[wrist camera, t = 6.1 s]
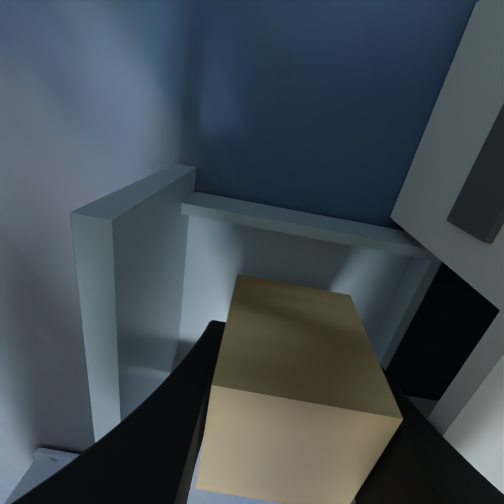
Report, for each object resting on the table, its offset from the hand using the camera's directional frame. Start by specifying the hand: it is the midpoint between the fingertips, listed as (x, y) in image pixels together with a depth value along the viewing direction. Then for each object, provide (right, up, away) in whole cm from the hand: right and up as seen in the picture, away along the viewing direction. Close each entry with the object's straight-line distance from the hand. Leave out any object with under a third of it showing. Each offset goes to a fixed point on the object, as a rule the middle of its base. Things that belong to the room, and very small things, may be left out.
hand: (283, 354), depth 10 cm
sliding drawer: (+1, +1, +4) cm, 4 cm away
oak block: (0, +1, +1) cm, 2 cm away
